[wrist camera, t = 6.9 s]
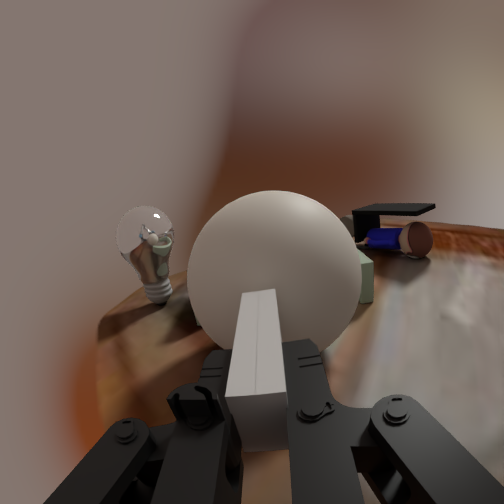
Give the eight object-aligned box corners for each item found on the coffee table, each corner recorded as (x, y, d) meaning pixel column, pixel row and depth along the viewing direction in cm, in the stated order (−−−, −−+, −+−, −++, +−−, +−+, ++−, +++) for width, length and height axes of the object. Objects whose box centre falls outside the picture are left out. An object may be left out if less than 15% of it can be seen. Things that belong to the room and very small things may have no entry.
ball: (413, 340, 13) (365, 155, 15) (216, 413, 10) (169, 167, 12) (326, 332, 24) (299, 215, 26) (204, 364, 22) (177, 233, 23)
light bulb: (139, 322, 27) (110, 213, 24) (133, 302, 33) (109, 213, 30) (196, 303, 31) (173, 198, 28) (180, 287, 37) (161, 200, 34)
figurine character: (339, 258, 42) (421, 266, 29) (331, 211, 41) (415, 203, 28) (365, 248, 45) (441, 252, 32) (359, 205, 44) (436, 197, 31)
